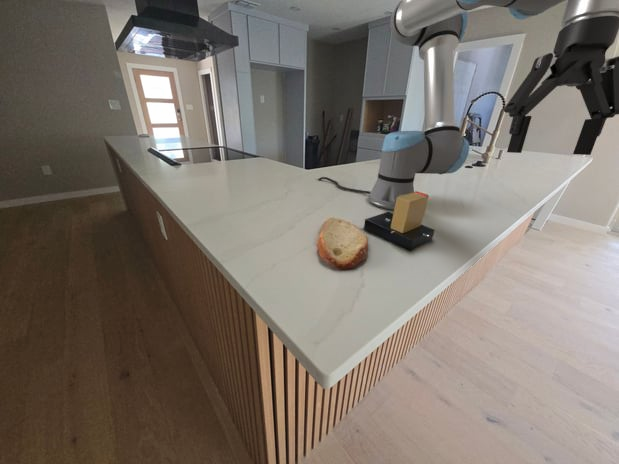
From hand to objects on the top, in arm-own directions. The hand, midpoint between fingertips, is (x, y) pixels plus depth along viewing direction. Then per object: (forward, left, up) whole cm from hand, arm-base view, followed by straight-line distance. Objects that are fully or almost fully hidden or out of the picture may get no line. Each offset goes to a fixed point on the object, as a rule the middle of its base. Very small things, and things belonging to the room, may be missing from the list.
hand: (547, 153), depth 50 cm
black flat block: (-14, -20, -23) cm, 33 cm away
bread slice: (-13, -37, -23) cm, 46 cm away
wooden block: (-12, -19, -20) cm, 30 cm away
